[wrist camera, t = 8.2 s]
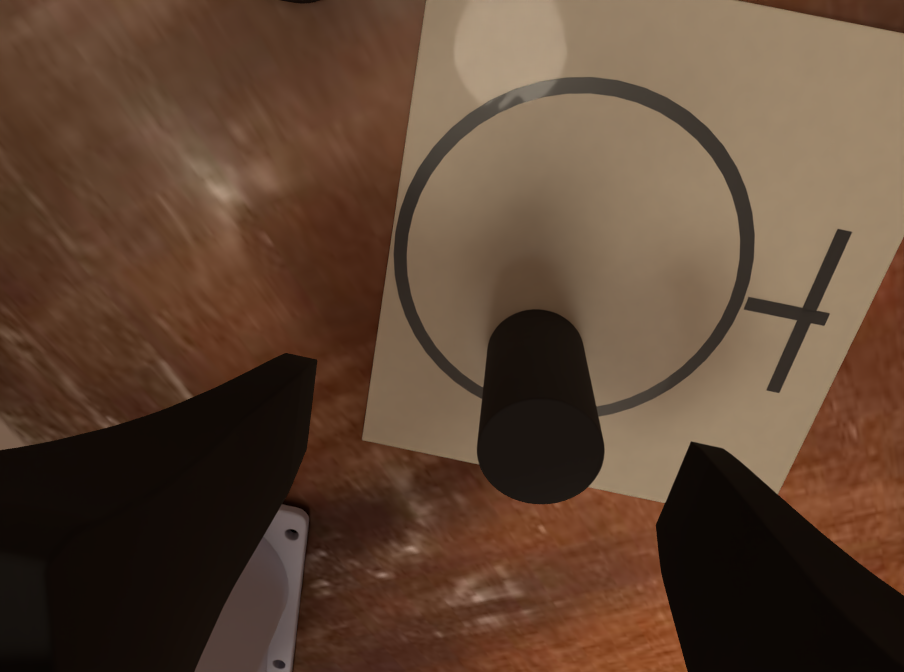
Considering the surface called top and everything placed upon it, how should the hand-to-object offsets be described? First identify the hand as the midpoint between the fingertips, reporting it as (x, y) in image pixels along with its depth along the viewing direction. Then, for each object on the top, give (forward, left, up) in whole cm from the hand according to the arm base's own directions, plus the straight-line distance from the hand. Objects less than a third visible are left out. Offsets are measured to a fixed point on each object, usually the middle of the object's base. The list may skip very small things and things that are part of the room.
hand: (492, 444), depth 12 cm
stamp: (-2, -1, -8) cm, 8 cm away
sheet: (+1, -3, -8) cm, 9 cm away
